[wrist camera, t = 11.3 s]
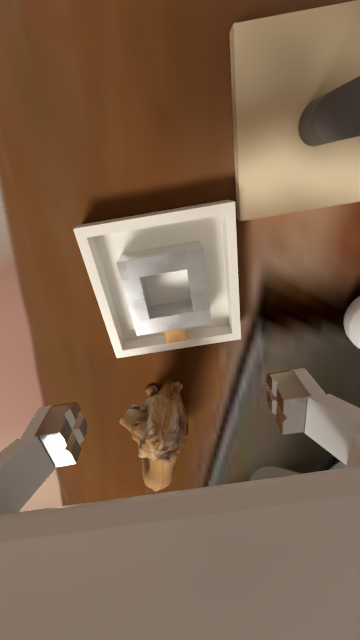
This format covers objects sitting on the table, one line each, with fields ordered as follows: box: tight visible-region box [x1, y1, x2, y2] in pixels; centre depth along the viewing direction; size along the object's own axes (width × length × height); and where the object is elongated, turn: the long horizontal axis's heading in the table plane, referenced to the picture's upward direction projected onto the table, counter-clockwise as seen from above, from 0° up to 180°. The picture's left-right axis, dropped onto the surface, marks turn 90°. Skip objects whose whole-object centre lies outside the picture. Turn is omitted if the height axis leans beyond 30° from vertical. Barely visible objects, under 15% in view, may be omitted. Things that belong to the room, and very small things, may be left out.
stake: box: [229, 0, 360, 221], centre depth 15 cm, size 10×10×5 cm
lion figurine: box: [120, 382, 188, 491], centre depth 25 cm, size 15×5×9 cm, turn 3°
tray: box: [73, 200, 241, 358], centre depth 20 cm, size 11×11×2 cm
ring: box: [116, 240, 212, 343], centre depth 20 cm, size 6×7×2 cm
